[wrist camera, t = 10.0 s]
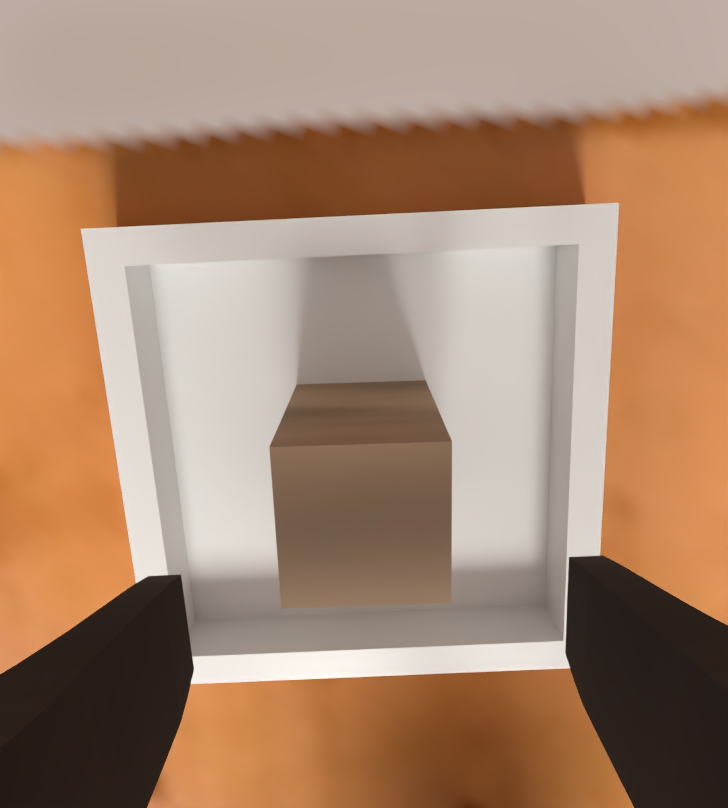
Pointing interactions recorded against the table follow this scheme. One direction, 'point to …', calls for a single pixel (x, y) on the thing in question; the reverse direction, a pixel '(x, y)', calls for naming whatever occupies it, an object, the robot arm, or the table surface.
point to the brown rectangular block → (362, 496)
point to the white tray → (353, 363)
